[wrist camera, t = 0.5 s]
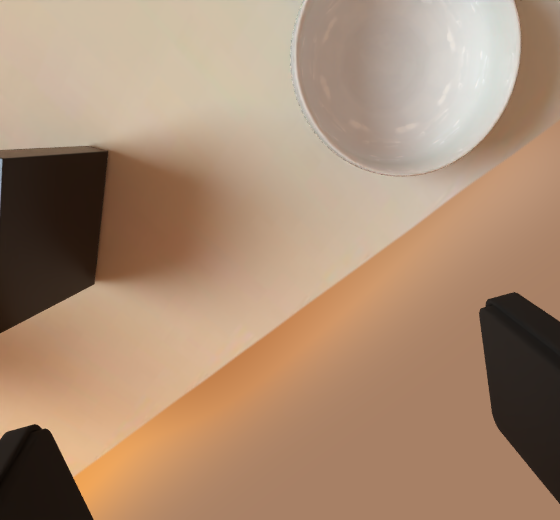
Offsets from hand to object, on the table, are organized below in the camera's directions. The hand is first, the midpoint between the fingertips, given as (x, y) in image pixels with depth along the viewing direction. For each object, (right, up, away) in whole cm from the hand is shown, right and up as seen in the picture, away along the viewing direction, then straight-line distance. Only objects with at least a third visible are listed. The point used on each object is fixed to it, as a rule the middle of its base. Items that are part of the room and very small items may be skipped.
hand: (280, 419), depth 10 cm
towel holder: (-24, +8, +32) cm, 41 cm away
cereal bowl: (+9, +20, +32) cm, 38 cm away
